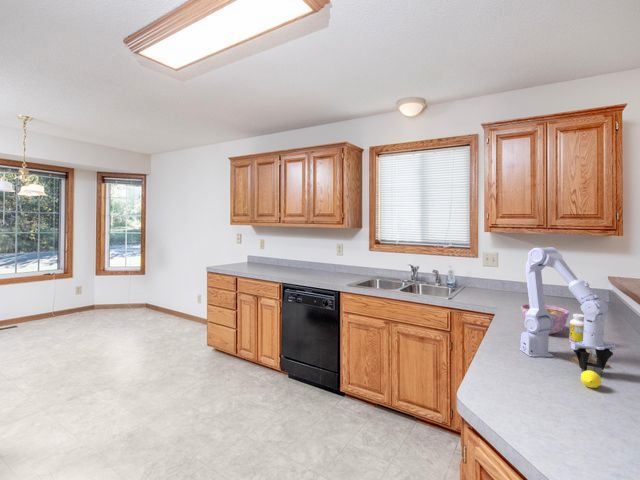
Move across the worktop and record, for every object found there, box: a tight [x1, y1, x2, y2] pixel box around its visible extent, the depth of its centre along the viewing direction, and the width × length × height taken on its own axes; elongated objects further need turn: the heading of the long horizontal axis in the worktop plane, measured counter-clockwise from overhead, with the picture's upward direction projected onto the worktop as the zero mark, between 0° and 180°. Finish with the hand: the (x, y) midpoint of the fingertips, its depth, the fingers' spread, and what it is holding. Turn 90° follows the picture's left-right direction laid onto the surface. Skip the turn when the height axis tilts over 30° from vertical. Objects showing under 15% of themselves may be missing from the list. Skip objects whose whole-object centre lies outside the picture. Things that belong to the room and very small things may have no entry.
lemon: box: [580, 370, 602, 389], centre depth 112 cm, size 7×5×5 cm
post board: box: [566, 349, 611, 369], centre depth 130 cm, size 10×8×5 cm
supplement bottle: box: [568, 313, 584, 344], centre depth 152 cm, size 7×7×13 cm
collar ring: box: [580, 361, 603, 377], centre depth 123 cm, size 6×6×3 cm
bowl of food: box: [520, 303, 570, 335], centre depth 168 cm, size 20×20×12 cm
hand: (591, 368), depth 123 cm, fingers closed on collar ring, 6 cm apart
